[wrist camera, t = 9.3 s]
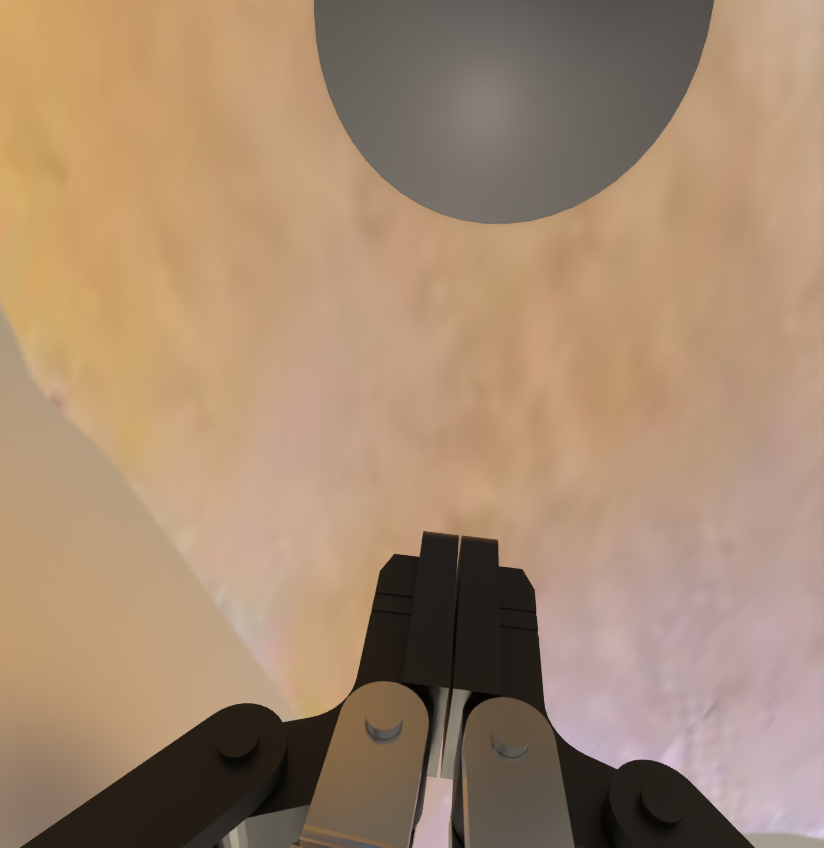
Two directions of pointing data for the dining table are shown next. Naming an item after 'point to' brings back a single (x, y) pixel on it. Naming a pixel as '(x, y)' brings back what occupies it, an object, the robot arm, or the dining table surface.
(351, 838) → the robot arm
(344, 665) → the dining table surface
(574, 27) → the disc
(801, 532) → the dining table surface
